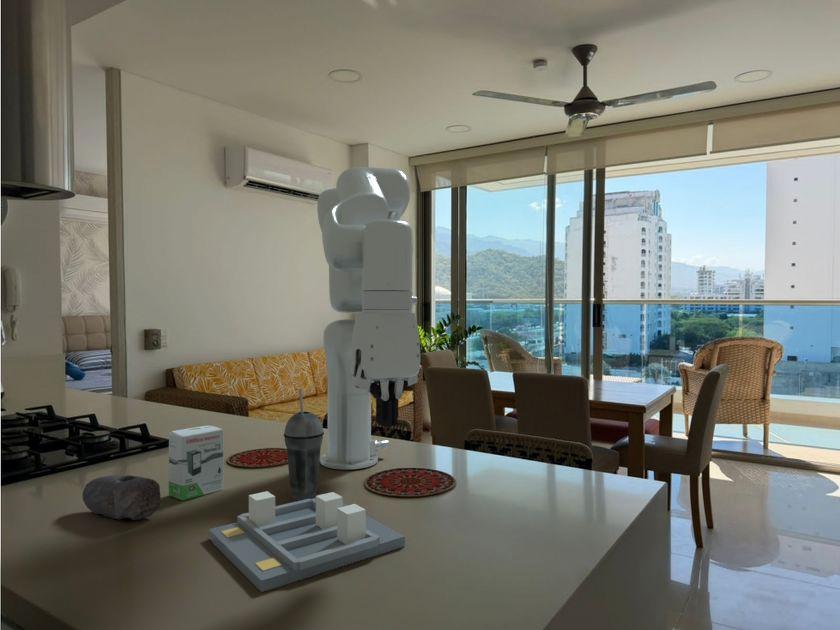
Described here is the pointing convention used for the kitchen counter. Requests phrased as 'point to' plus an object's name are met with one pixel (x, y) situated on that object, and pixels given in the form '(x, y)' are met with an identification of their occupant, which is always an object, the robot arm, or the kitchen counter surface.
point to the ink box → (195, 461)
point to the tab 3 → (351, 523)
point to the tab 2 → (327, 509)
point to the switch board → (296, 545)
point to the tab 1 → (262, 509)
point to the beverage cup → (303, 452)
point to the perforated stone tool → (122, 496)
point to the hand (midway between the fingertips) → (387, 425)
